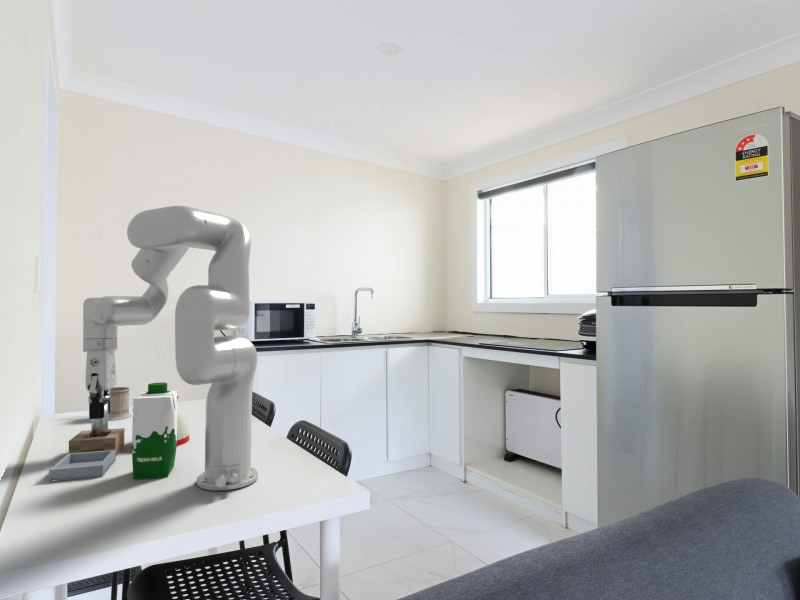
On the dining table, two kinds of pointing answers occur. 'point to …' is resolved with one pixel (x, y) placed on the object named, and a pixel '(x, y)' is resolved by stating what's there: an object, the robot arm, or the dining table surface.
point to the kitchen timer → (181, 428)
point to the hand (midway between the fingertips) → (99, 415)
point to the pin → (101, 420)
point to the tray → (83, 465)
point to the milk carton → (154, 432)
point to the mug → (119, 404)
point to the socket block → (97, 442)
